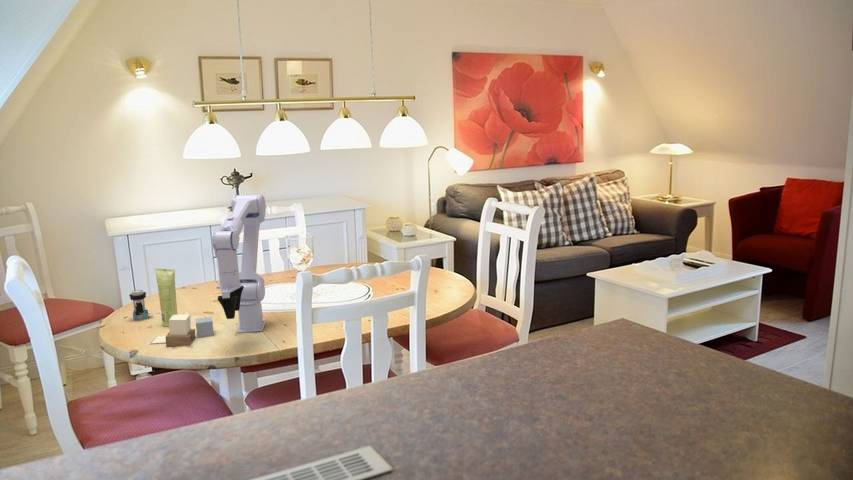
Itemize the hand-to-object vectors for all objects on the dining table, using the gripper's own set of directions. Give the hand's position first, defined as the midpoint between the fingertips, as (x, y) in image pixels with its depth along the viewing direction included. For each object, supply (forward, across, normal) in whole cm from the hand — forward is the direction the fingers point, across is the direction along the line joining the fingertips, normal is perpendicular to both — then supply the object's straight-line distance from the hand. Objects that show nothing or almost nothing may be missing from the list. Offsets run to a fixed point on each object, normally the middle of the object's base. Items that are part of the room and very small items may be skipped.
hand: (233, 314), depth 200 cm
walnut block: (+10, -6, -18) cm, 21 cm away
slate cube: (+10, -12, -12) cm, 20 cm away
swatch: (+10, -9, -24) cm, 27 cm away
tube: (+10, -24, -26) cm, 37 cm away
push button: (+10, -33, -38) cm, 51 cm away
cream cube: (+7, -6, -18) cm, 20 cm away
